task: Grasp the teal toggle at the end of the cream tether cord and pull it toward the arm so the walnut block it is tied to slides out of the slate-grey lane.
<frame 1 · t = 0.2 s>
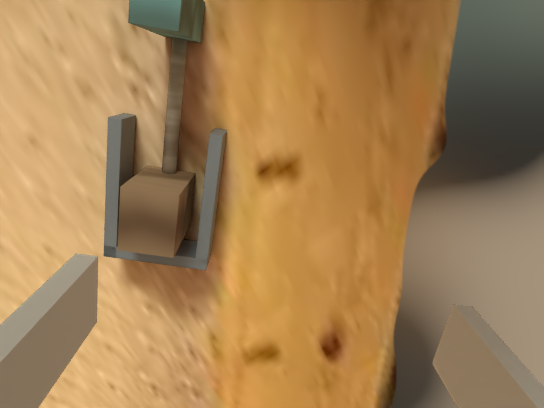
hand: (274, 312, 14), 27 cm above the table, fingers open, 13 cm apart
lane: (170, 187, 41), on the table
tethered block: (169, 196, 41), on the table
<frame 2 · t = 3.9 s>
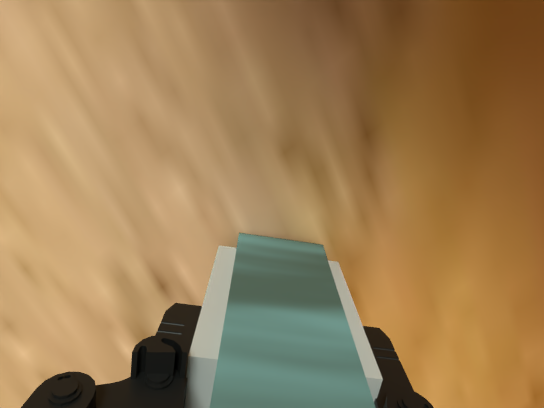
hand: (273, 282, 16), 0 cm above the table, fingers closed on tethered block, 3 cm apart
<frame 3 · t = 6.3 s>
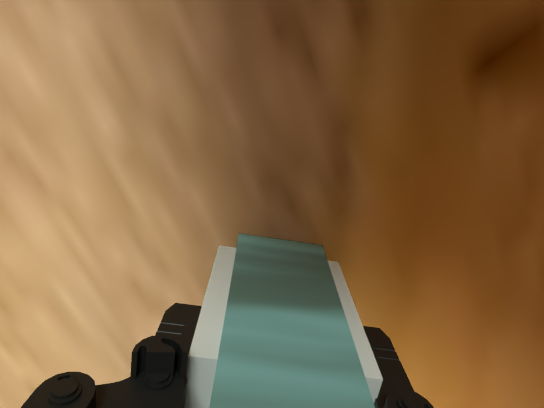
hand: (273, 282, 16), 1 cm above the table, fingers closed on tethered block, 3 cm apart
when the fingers open (2 cm above the table, at t = 8.9 s): tethered block drops 1 cm, on the table.
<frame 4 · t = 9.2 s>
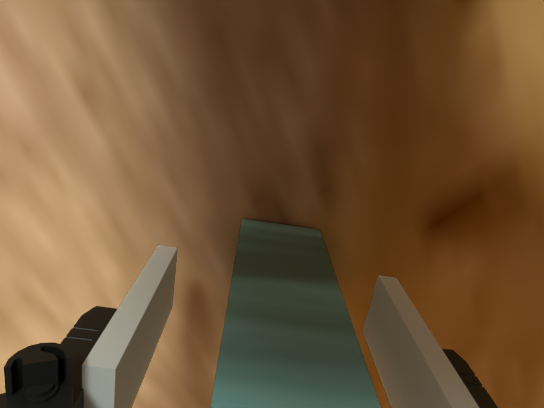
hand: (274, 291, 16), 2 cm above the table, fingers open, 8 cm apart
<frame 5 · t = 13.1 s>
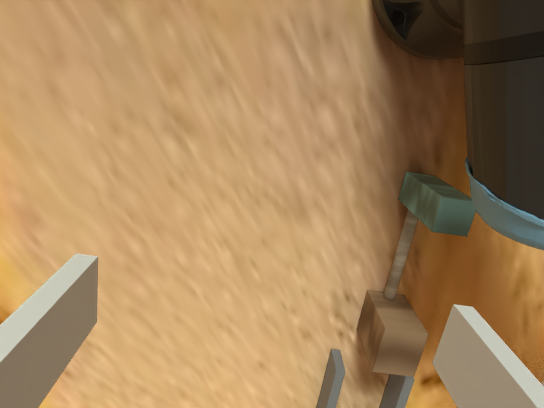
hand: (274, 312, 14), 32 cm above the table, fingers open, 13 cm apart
lane: (356, 393, 56), on the table
tethered block: (380, 312, 51), on the table
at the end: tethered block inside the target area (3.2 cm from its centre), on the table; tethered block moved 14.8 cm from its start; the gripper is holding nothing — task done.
